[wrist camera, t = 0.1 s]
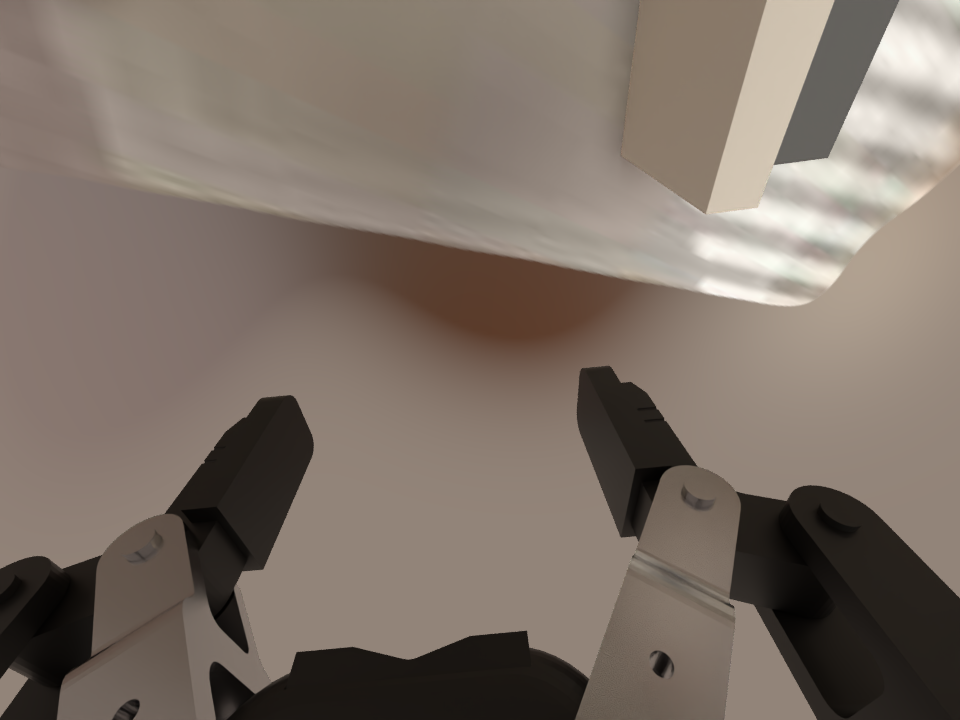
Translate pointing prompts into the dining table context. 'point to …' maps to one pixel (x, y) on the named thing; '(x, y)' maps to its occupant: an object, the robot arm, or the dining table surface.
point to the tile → (717, 93)
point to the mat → (834, 77)
